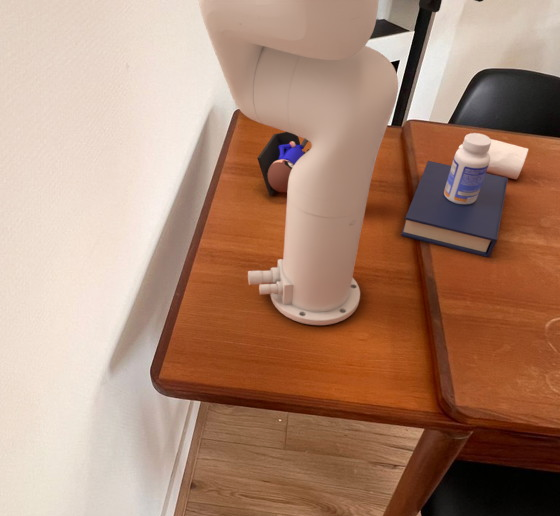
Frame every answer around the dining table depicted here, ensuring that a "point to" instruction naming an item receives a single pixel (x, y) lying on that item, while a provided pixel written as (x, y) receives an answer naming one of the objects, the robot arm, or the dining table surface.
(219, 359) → the dining table surface
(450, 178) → the pill bottle
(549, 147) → the dining table surface
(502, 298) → the dining table surface
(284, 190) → the character figurine
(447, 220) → the book
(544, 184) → the dining table surface
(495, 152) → the roll
